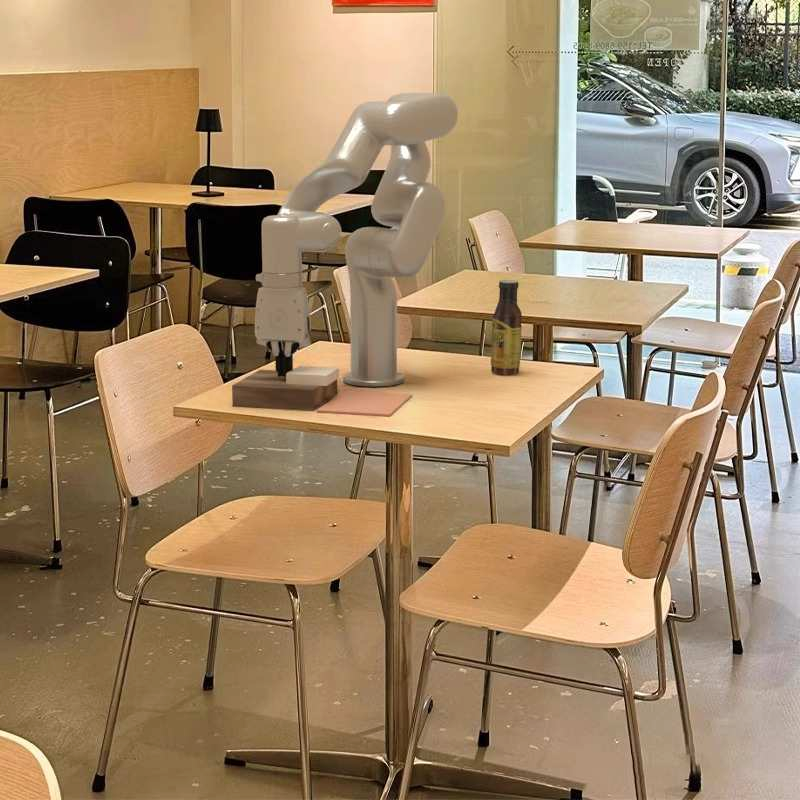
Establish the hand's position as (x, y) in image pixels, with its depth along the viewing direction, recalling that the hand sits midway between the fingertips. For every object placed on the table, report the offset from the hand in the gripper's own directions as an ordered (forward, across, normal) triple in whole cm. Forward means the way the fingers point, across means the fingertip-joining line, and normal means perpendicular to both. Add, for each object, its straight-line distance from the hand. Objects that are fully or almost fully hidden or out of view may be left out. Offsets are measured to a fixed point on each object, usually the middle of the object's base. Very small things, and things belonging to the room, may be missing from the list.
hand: (284, 375), depth 263 cm
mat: (+5, +16, 0) cm, 17 cm away
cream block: (+1, +6, 0) cm, 6 cm away
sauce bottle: (+5, +37, +36) cm, 52 cm away
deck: (+5, 0, 0) cm, 5 cm away
